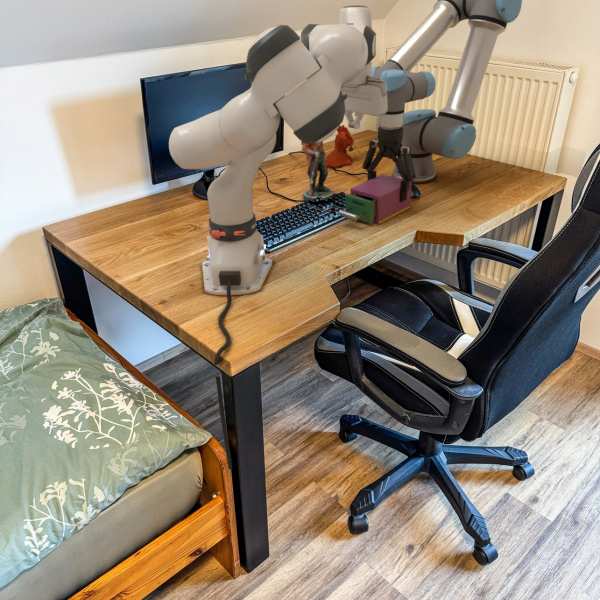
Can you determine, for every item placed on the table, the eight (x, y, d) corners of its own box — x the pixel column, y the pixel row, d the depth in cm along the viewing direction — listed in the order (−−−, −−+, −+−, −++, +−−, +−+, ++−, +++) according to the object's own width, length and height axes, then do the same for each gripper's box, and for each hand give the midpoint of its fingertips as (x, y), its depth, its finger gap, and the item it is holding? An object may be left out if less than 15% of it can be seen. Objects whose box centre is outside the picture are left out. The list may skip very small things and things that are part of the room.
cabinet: (378, 224, 170) (379, 197, 165) (350, 214, 177) (350, 188, 172) (410, 207, 180) (411, 181, 175) (381, 199, 187) (382, 173, 182)
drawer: (359, 229, 165) (360, 208, 161) (333, 220, 171) (333, 200, 168) (400, 208, 177) (401, 188, 173) (374, 200, 183) (375, 181, 180)
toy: (361, 162, 218) (362, 123, 210) (321, 170, 212) (321, 130, 204) (345, 154, 228) (345, 116, 220) (306, 161, 221) (305, 123, 213)
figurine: (331, 204, 184) (330, 110, 168) (299, 202, 186) (296, 110, 170) (336, 192, 193) (335, 102, 177) (306, 191, 195) (303, 102, 179)
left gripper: (394, 76, 143) (391, 131, 150) (333, 69, 155) (333, 119, 163) (378, 81, 139) (376, 136, 147) (318, 72, 152) (319, 124, 159)
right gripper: (432, 130, 162) (425, 201, 173) (367, 117, 176) (365, 184, 188) (417, 136, 157) (411, 209, 169) (351, 122, 172) (350, 190, 183)
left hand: (353, 127), depth 155 cm, fingers closed
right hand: (387, 196), depth 178 cm, fingers closed on cabinet, 11 cm apart
